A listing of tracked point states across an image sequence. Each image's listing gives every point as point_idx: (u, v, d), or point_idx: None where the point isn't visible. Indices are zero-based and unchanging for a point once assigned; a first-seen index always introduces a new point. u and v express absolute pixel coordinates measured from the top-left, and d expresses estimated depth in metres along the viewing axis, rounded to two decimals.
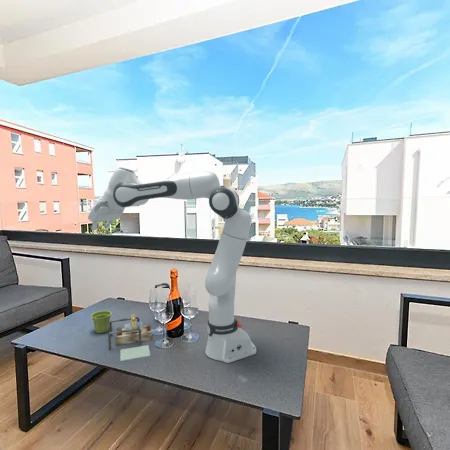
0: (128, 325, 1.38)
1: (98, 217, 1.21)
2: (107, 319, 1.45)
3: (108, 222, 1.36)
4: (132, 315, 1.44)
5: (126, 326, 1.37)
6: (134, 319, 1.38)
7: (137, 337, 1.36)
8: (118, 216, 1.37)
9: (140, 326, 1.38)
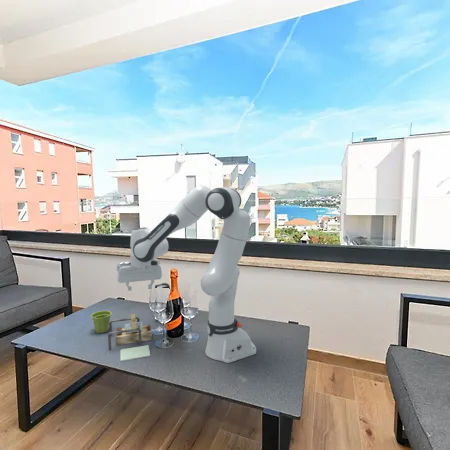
0: (128, 325, 1.38)
1: (121, 277, 1.32)
2: (107, 319, 1.45)
3: (150, 283, 1.41)
4: (132, 315, 1.44)
5: (126, 326, 1.37)
6: (134, 319, 1.38)
7: (137, 337, 1.36)
8: (157, 275, 1.39)
9: (140, 326, 1.38)
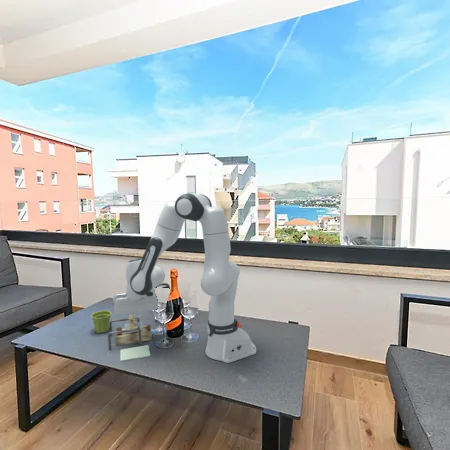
0: (128, 325, 1.38)
1: (117, 308, 1.34)
2: (107, 319, 1.45)
3: (139, 314, 1.39)
4: (130, 315, 1.43)
5: (126, 326, 1.37)
6: (132, 319, 1.38)
7: (137, 337, 1.36)
8: (153, 306, 1.39)
9: (140, 326, 1.38)
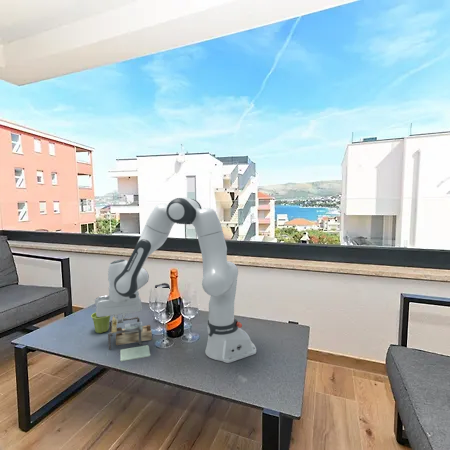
0: (128, 325, 1.38)
1: (99, 311, 1.31)
2: (107, 319, 1.45)
3: (122, 317, 1.37)
4: None
5: (126, 326, 1.37)
6: (115, 322, 1.35)
7: (137, 337, 1.36)
8: (137, 308, 1.37)
9: (140, 326, 1.38)
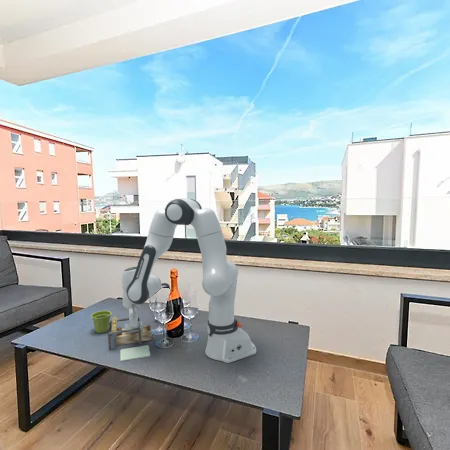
0: (128, 325, 1.38)
1: (137, 320, 1.31)
2: (107, 319, 1.45)
3: None
4: (114, 317, 1.41)
5: (126, 326, 1.37)
6: (115, 322, 1.35)
7: (137, 337, 1.36)
8: None
9: (140, 326, 1.38)
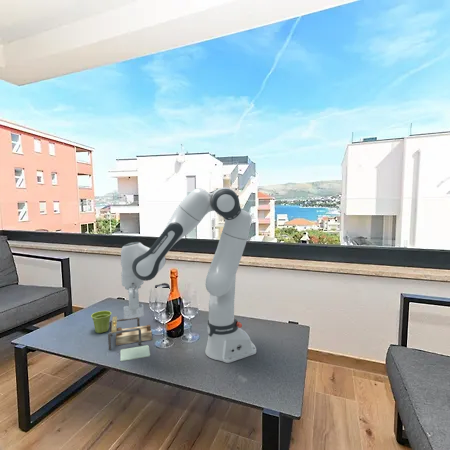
0: (127, 307, 1.23)
1: (138, 301, 1.16)
2: (107, 319, 1.45)
3: None
4: (114, 317, 1.41)
5: (125, 308, 1.22)
6: (115, 322, 1.35)
7: (137, 337, 1.36)
8: None
9: (141, 308, 1.23)
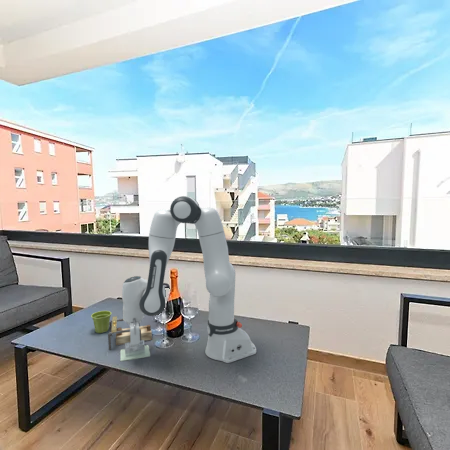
0: (129, 344, 1.25)
1: (139, 337, 1.18)
2: (107, 319, 1.45)
3: None
4: (114, 317, 1.41)
5: (127, 346, 1.24)
6: (115, 322, 1.35)
7: None
8: None
9: (142, 345, 1.25)
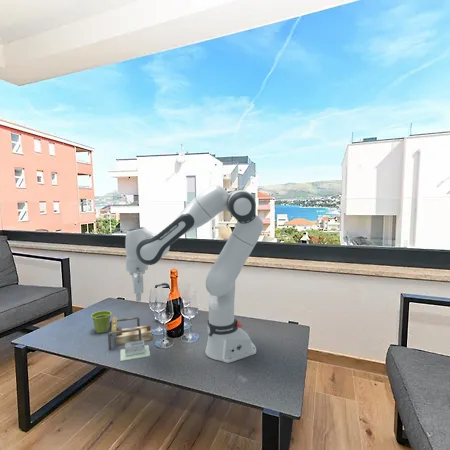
0: (129, 344, 1.25)
1: None
2: (107, 319, 1.45)
3: None
4: (114, 317, 1.41)
5: (127, 346, 1.24)
6: (115, 322, 1.35)
7: (137, 337, 1.36)
8: None
9: (142, 345, 1.25)
